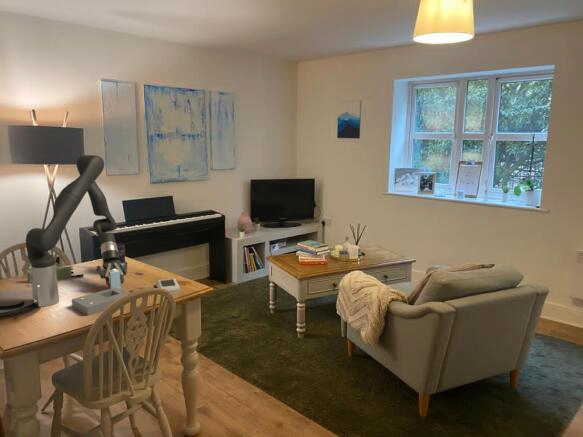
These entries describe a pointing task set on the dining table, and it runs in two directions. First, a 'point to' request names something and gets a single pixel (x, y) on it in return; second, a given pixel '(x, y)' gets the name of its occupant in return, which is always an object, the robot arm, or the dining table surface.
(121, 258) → the storage jar
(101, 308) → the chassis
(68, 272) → the handheld radio
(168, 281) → the keypad
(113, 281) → the pale blue tall block
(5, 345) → the dining table surface
